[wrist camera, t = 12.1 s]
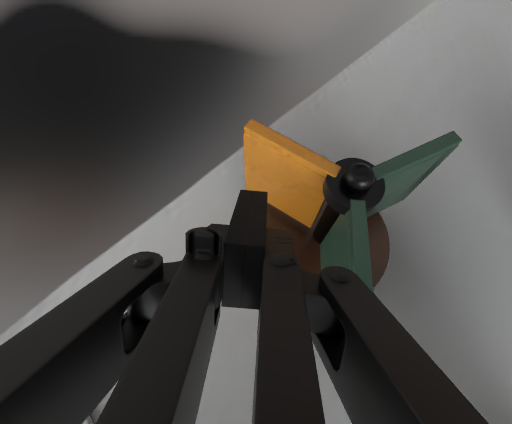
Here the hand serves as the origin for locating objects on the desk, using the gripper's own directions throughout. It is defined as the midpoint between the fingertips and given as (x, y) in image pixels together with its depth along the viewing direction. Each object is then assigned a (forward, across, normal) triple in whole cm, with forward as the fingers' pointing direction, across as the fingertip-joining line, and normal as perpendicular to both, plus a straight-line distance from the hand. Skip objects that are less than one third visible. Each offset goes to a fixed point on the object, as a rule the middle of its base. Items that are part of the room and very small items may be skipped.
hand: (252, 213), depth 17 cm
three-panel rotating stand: (+9, +5, -6) cm, 11 cm away
